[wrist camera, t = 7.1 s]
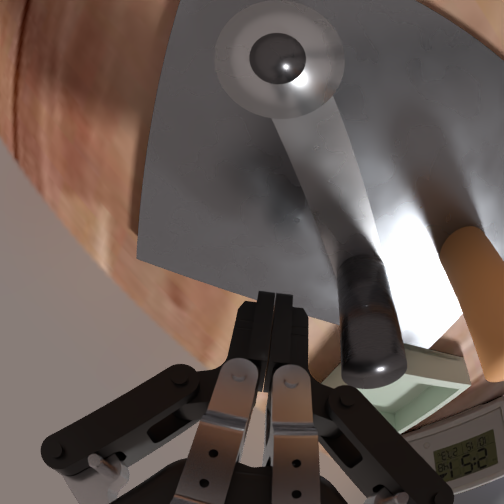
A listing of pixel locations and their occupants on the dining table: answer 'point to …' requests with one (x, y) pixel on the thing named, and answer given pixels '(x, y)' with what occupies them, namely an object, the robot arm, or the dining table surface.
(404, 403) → the tray
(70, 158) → the dining table surface
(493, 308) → the pin
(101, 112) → the dining table surface
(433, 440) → the digital clock
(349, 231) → the crank
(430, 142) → the crank base
